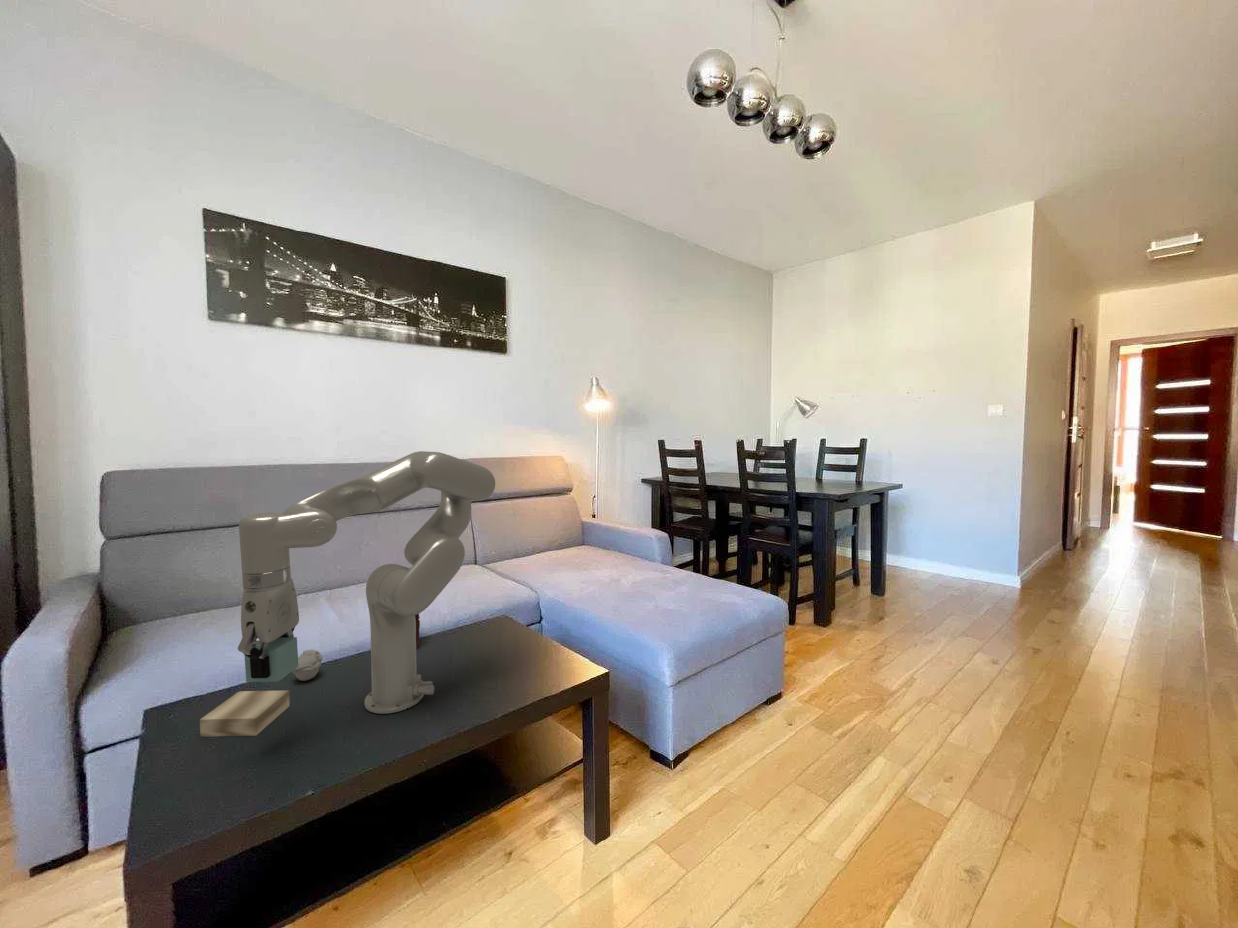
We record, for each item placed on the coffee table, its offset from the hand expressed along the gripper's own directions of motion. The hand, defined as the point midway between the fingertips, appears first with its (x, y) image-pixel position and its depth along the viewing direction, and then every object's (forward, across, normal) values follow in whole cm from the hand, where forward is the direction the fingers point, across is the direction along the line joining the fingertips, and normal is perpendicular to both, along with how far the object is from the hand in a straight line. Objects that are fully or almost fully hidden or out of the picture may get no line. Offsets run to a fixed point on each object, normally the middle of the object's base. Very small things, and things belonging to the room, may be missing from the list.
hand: (272, 667), depth 96 cm
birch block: (+17, +9, +13) cm, 23 cm away
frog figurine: (+17, +27, +11) cm, 34 cm away
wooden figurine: (+17, +47, -5) cm, 51 cm away
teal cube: (+1, 0, 0) cm, 1 cm away
